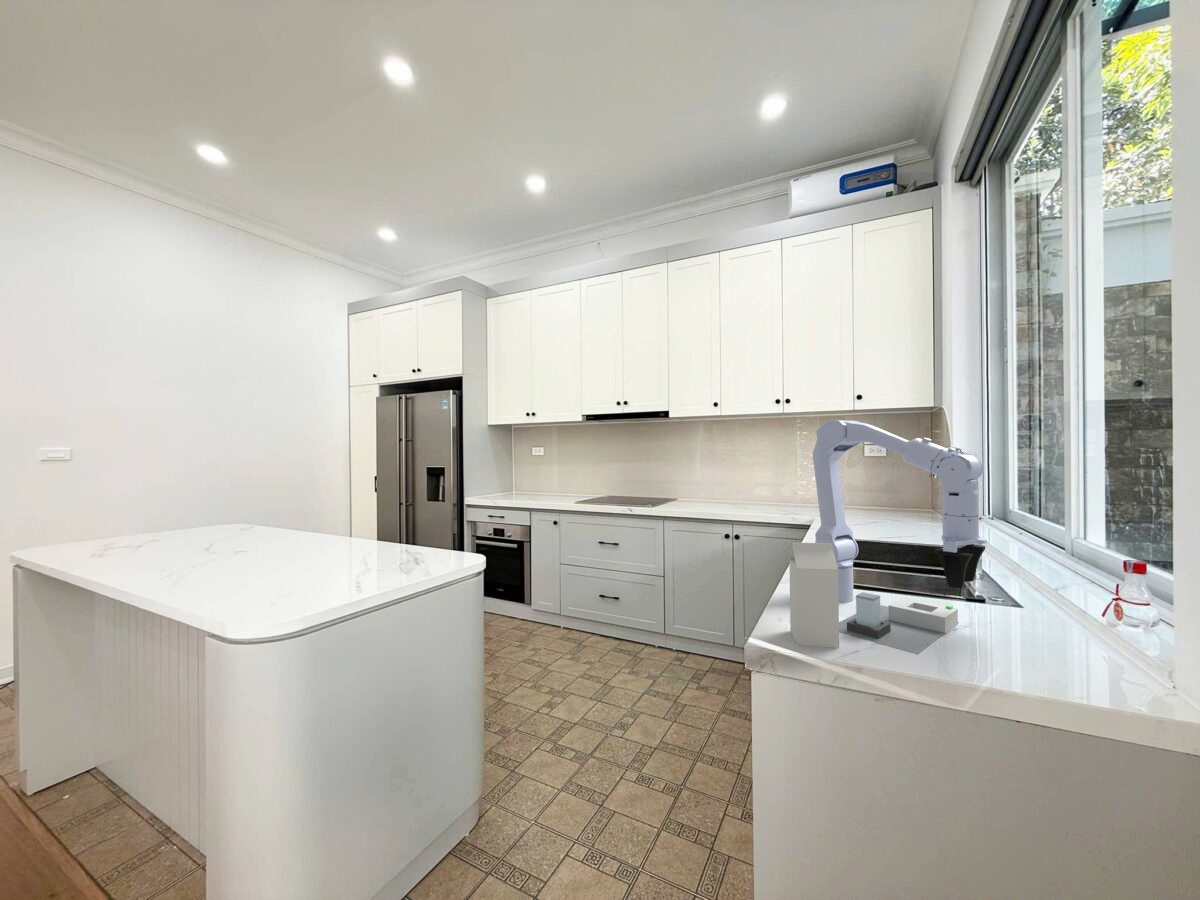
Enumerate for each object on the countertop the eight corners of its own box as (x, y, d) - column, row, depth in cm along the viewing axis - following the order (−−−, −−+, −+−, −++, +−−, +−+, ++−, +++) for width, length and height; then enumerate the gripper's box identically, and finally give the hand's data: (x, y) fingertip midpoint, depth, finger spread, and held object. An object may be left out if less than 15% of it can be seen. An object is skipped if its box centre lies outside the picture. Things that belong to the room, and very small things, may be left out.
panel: (826, 632, 95) (825, 611, 95) (875, 607, 110) (875, 588, 110) (917, 658, 82) (917, 634, 82) (959, 626, 97) (959, 605, 97)
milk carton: (839, 652, 86) (837, 547, 86) (797, 649, 87) (796, 546, 87) (828, 637, 92) (827, 540, 93) (790, 634, 94) (788, 539, 94)
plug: (856, 630, 94) (855, 595, 94) (863, 626, 96) (862, 592, 96) (873, 635, 91) (873, 599, 91) (880, 631, 93) (880, 595, 93)
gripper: (975, 520, 86) (976, 595, 86) (994, 513, 95) (996, 581, 95) (929, 516, 91) (930, 587, 91) (952, 510, 100) (953, 574, 100)
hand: (961, 583), depth 93 cm, fingers open, 7 cm apart
